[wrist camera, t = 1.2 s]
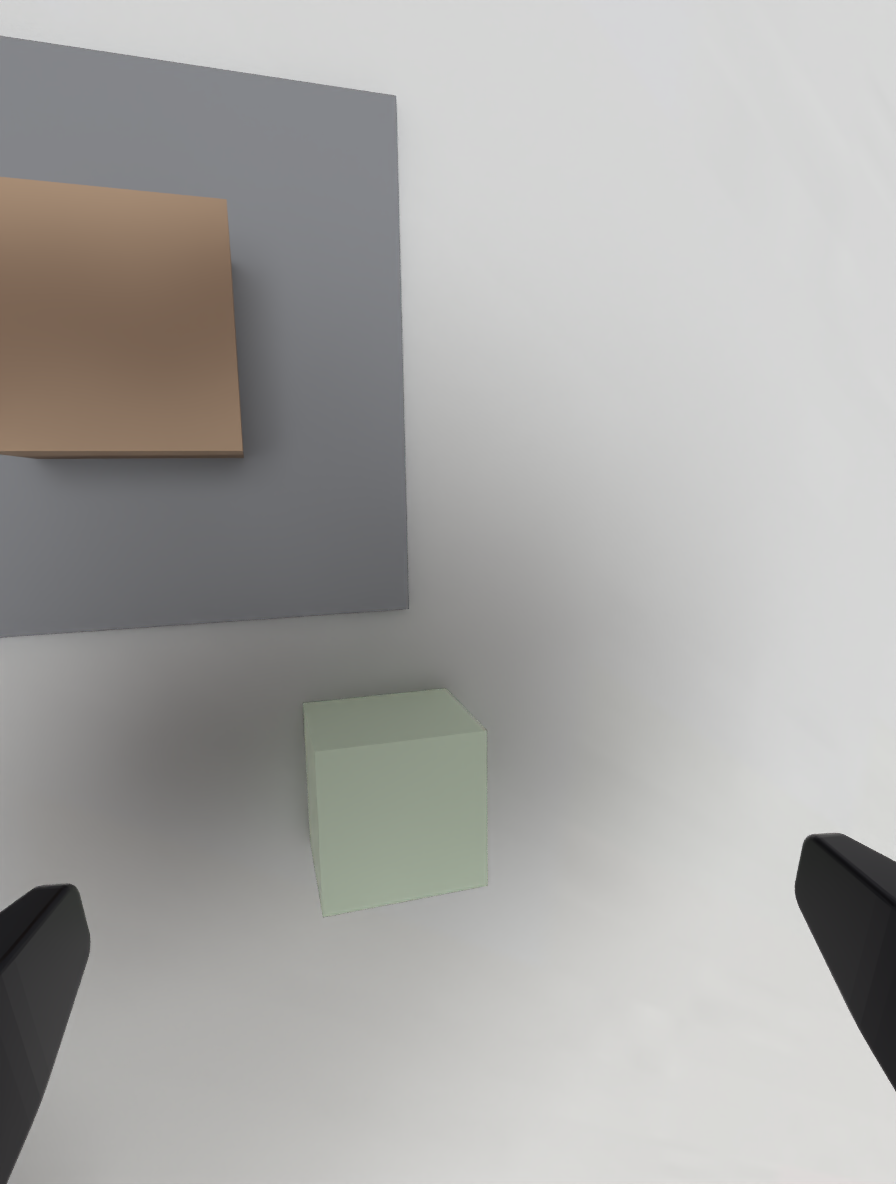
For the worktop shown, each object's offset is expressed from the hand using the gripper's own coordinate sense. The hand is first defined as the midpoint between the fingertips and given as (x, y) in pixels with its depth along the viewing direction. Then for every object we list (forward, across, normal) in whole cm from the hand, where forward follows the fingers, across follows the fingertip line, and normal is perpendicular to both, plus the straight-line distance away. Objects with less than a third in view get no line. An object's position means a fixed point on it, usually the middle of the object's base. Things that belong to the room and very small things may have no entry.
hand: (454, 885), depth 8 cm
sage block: (+12, +2, +6) cm, 13 cm away
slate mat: (+12, +7, -6) cm, 16 cm away
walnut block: (+12, +7, -6) cm, 15 cm away
